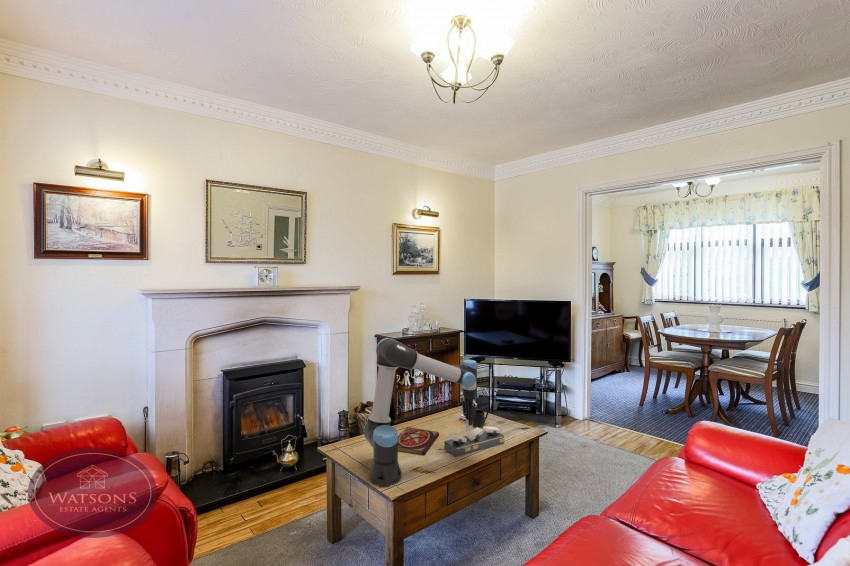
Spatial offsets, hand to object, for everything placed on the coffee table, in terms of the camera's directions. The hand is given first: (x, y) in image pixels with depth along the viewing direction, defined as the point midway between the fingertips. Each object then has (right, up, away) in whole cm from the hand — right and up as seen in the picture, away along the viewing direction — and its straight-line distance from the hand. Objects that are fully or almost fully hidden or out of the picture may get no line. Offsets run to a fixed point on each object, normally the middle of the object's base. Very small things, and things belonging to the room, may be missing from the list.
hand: (468, 430), depth 234 cm
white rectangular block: (+4, -5, +2) cm, 7 cm away
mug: (+11, -9, +34) cm, 37 cm away
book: (-30, -11, +8) cm, 33 cm away
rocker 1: (-7, -5, -4) cm, 10 cm away
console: (+4, -10, +3) cm, 11 cm away
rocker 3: (+14, -5, +8) cm, 17 cm away
